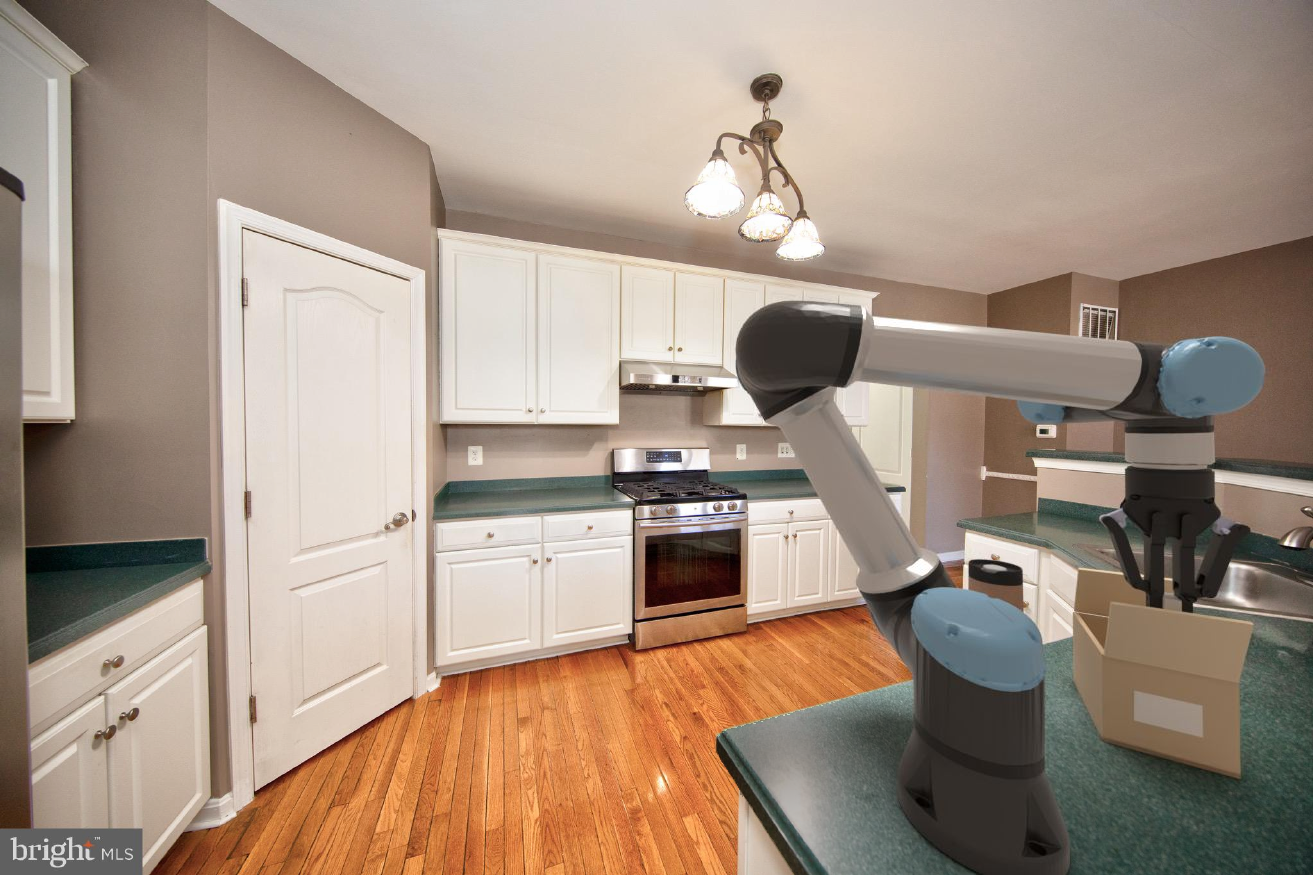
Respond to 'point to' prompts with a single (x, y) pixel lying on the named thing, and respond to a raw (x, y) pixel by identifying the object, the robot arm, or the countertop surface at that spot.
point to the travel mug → (997, 580)
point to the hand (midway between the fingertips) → (1168, 644)
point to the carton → (1156, 705)
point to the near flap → (1178, 640)
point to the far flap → (1107, 591)
